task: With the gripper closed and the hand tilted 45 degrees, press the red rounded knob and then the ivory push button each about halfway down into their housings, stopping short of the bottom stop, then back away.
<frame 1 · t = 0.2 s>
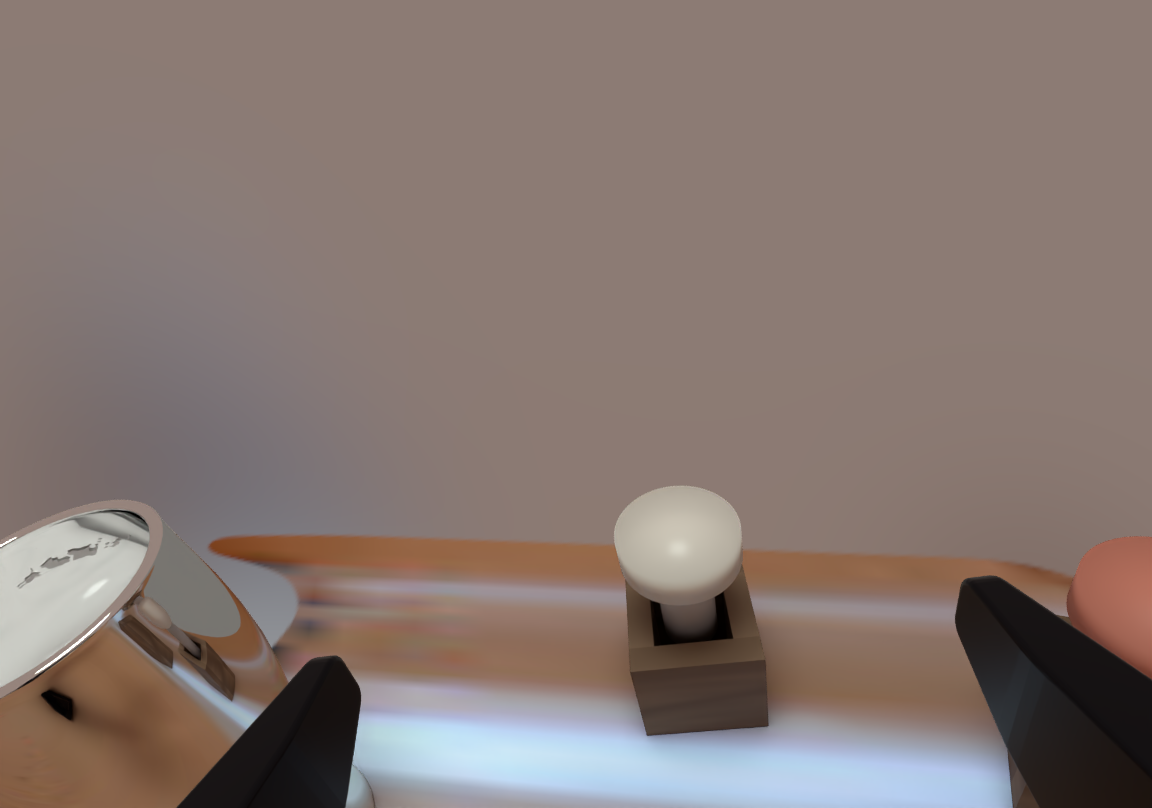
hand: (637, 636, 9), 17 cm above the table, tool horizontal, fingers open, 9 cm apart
red rounded knob: (1148, 658, 17), point 6 cm above the table, slide at 0.0 cm
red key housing: (1089, 764, 21), on the table
ivory key: (683, 579, 23), point 6 cm above the table, slide at 0.0 cm
ivory key housing: (698, 674, 26), on the table
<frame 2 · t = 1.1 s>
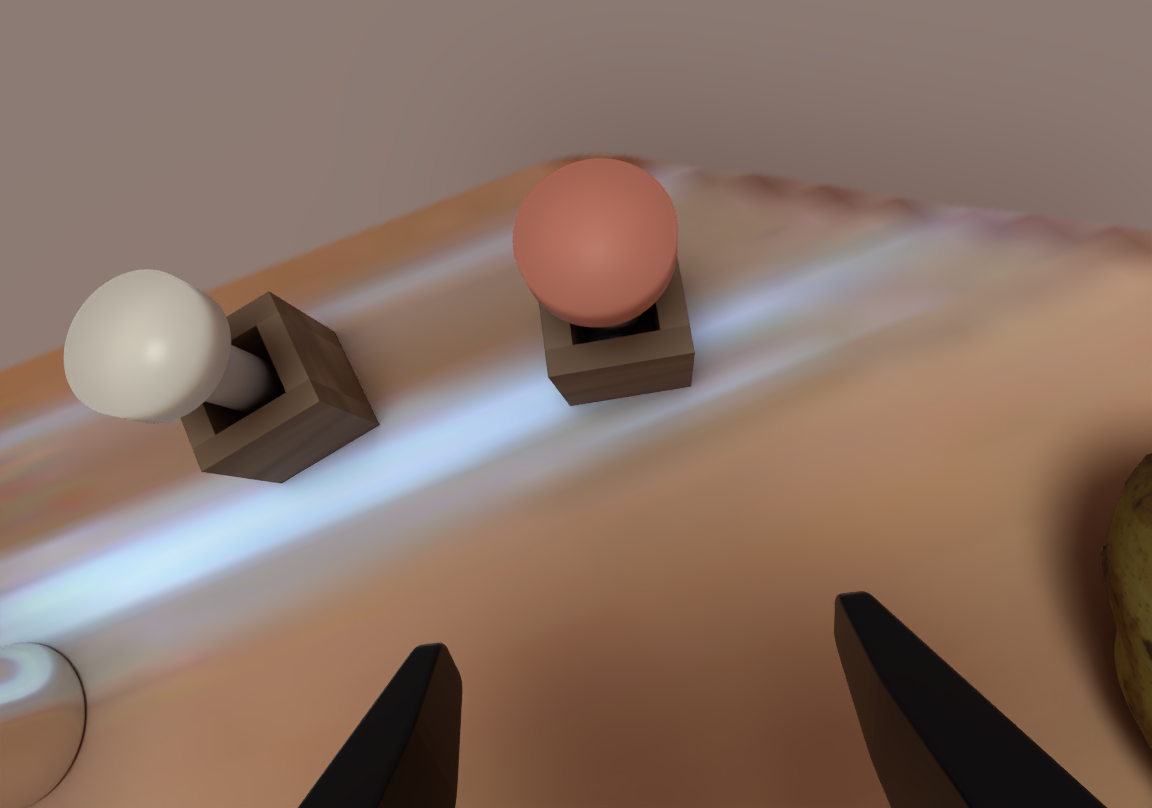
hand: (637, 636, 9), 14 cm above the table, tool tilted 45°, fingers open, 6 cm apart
red rounded knob: (604, 274, 19), point 6 cm above the table, slide at 0.0 cm
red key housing: (620, 338, 24), on the table
ivory key: (199, 366, 20), point 6 cm above the table, slide at 0.0 cm
ivory key housing: (308, 405, 26), on the table
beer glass: (23, 722, 25), on the table
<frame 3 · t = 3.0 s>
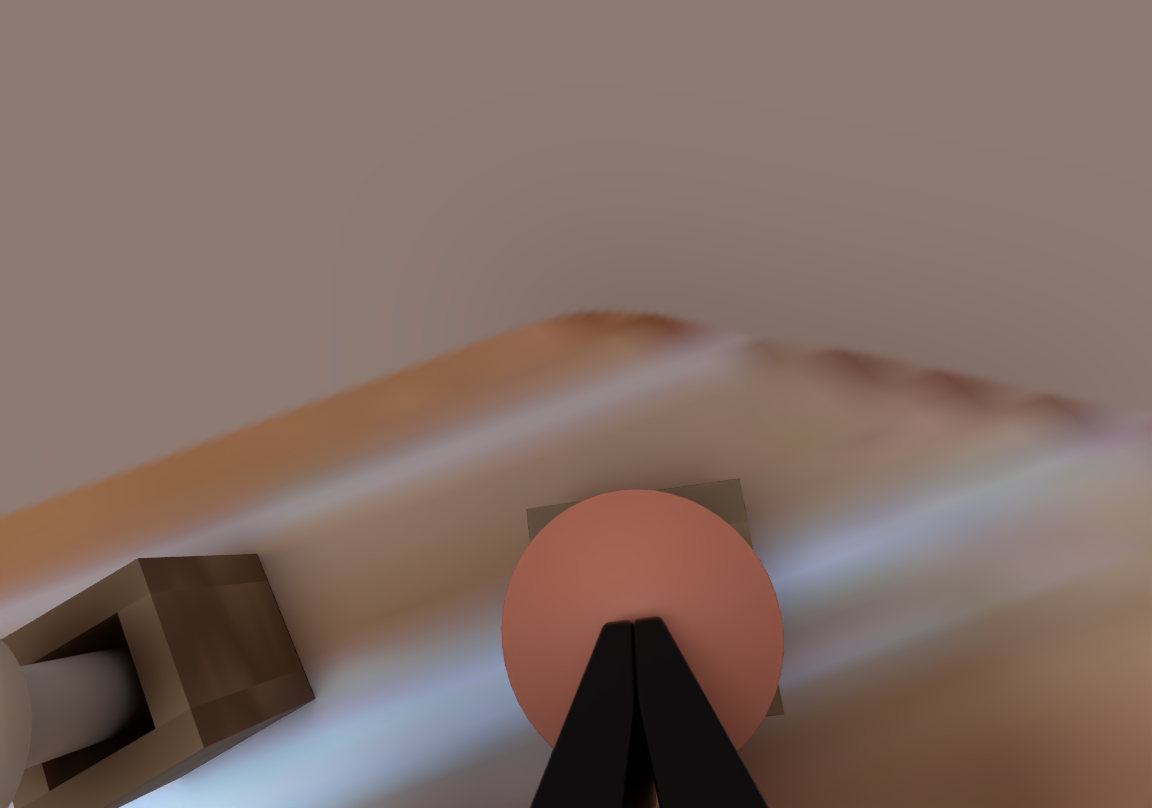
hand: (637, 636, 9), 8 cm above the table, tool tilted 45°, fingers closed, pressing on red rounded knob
red rounded knob: (645, 611, 12), point 5 cm above the table, slide at 0.6 cm, touching gripper
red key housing: (653, 589, 17), on the table
ivory key: (8, 720, 13), point 6 cm above the table, slide at 0.0 cm
ivory key housing: (218, 663, 19), on the table
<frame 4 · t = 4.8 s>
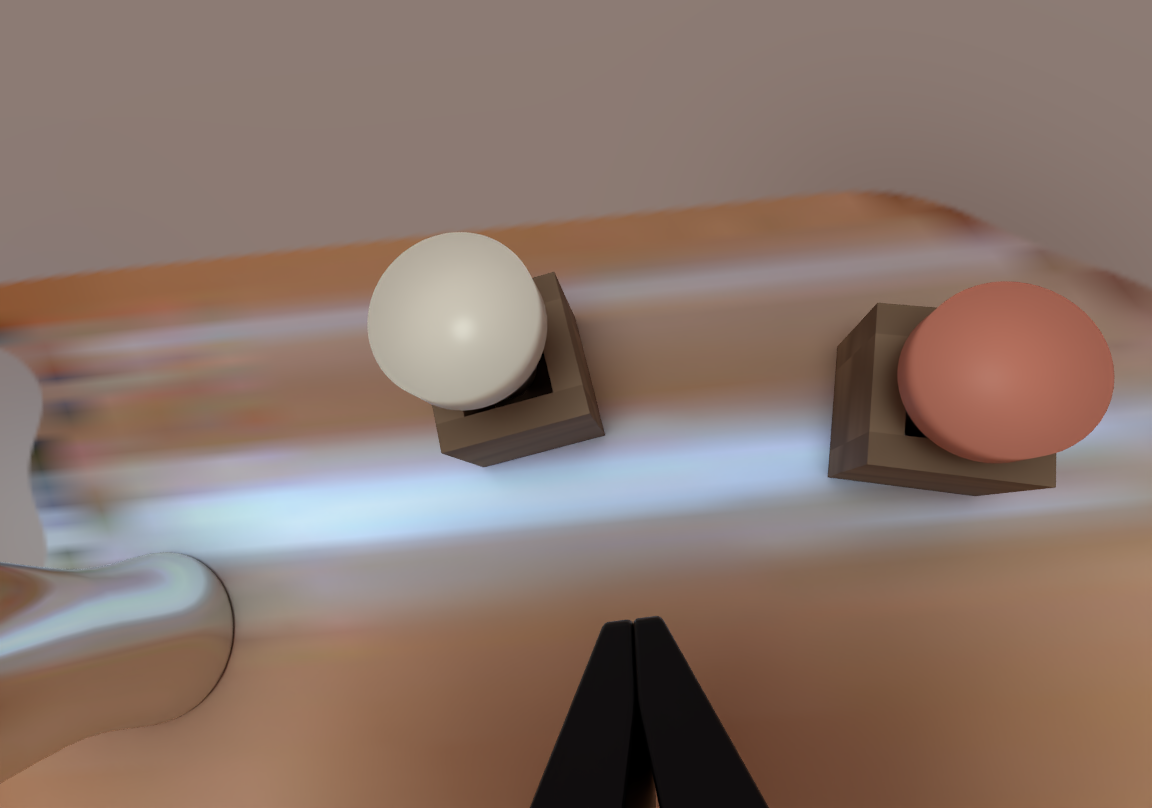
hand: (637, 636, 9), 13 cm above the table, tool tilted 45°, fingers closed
red rounded knob: (961, 391, 17), point 4 cm above the table, slide at 1.7 cm
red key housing: (904, 418, 21), on the table
ivory key: (482, 345, 18), point 6 cm above the table, slide at 0.0 cm
ivory key housing: (530, 391, 23), on the table
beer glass: (165, 634, 24), on the table
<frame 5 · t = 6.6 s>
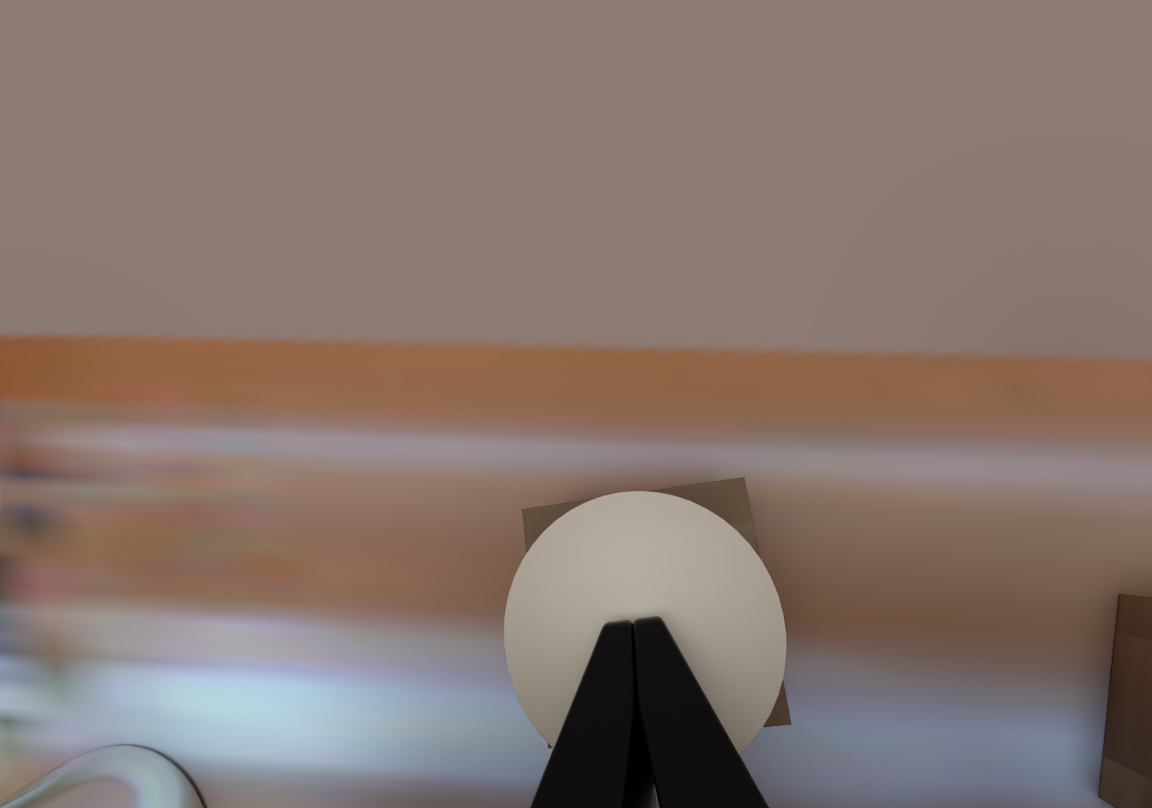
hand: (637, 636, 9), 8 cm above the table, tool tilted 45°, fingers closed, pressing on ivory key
ivory key: (647, 612, 12), point 5 cm above the table, slide at 1.2 cm, touching gripper
ivory key housing: (654, 592, 17), on the table
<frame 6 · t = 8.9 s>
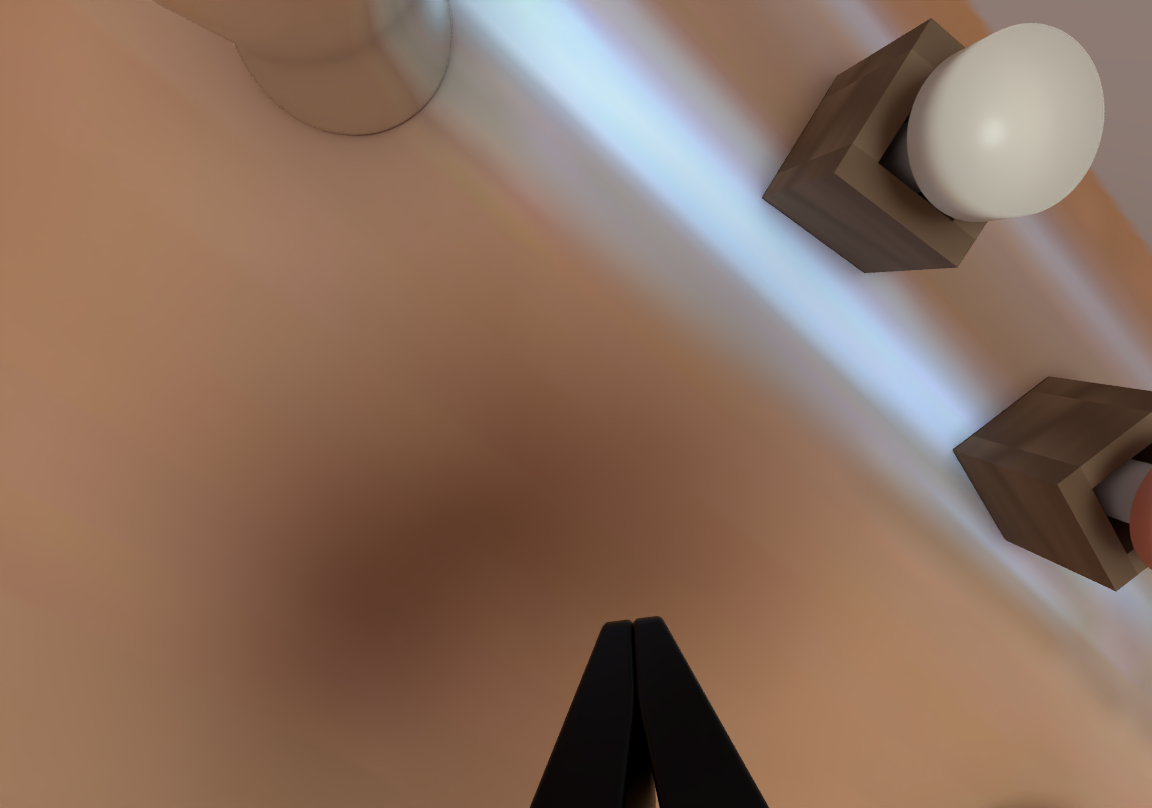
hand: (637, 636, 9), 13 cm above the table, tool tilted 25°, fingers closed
red rounded knob: (1143, 494, 20), point 4 cm above the table, slide at 1.7 cm
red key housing: (1027, 459, 24), on the table
ivory key: (943, 147, 17), point 4 cm above the table, slide at 1.7 cm
ivory key housing: (851, 177, 21), on the table
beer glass: (347, 28, 19), on the table
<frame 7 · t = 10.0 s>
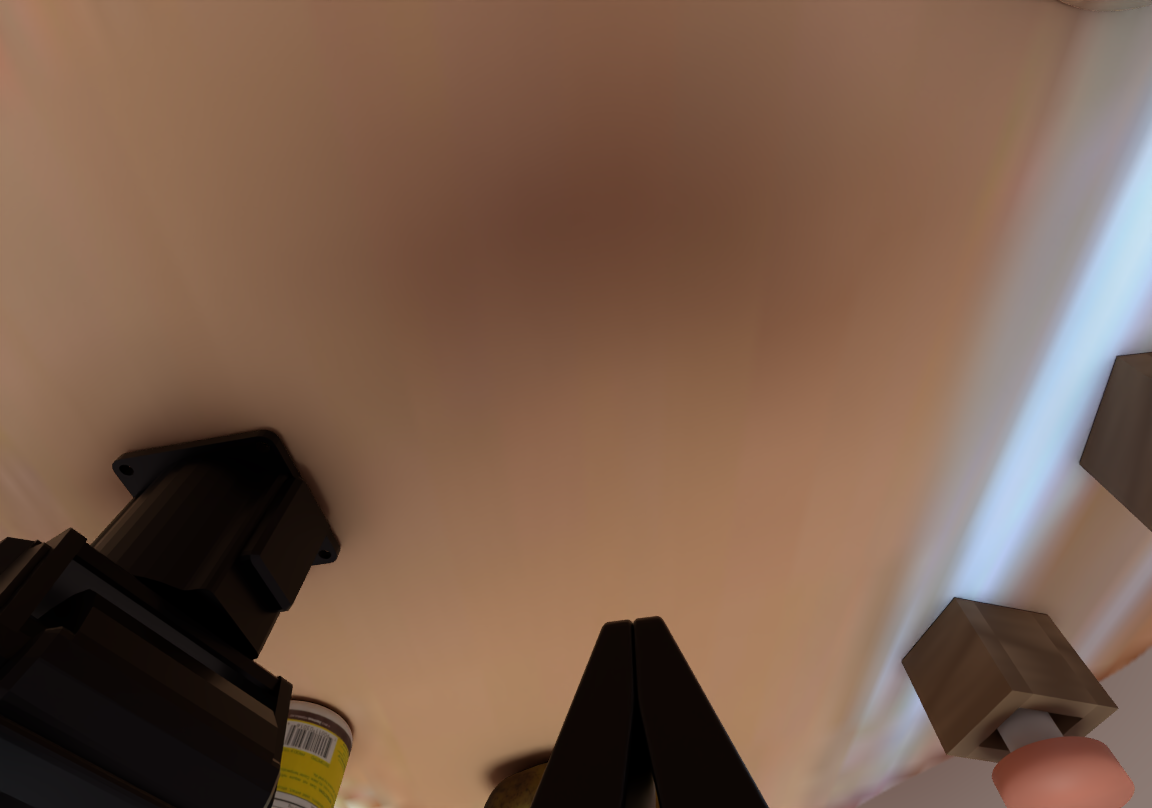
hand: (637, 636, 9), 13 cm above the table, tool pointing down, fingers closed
red rounded knob: (1028, 731, 25), point 4 cm above the table, slide at 1.7 cm
supplement bottle: (305, 721, 34), on the table
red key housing: (972, 639, 29), on the table
potato: (606, 774, 36), on the table
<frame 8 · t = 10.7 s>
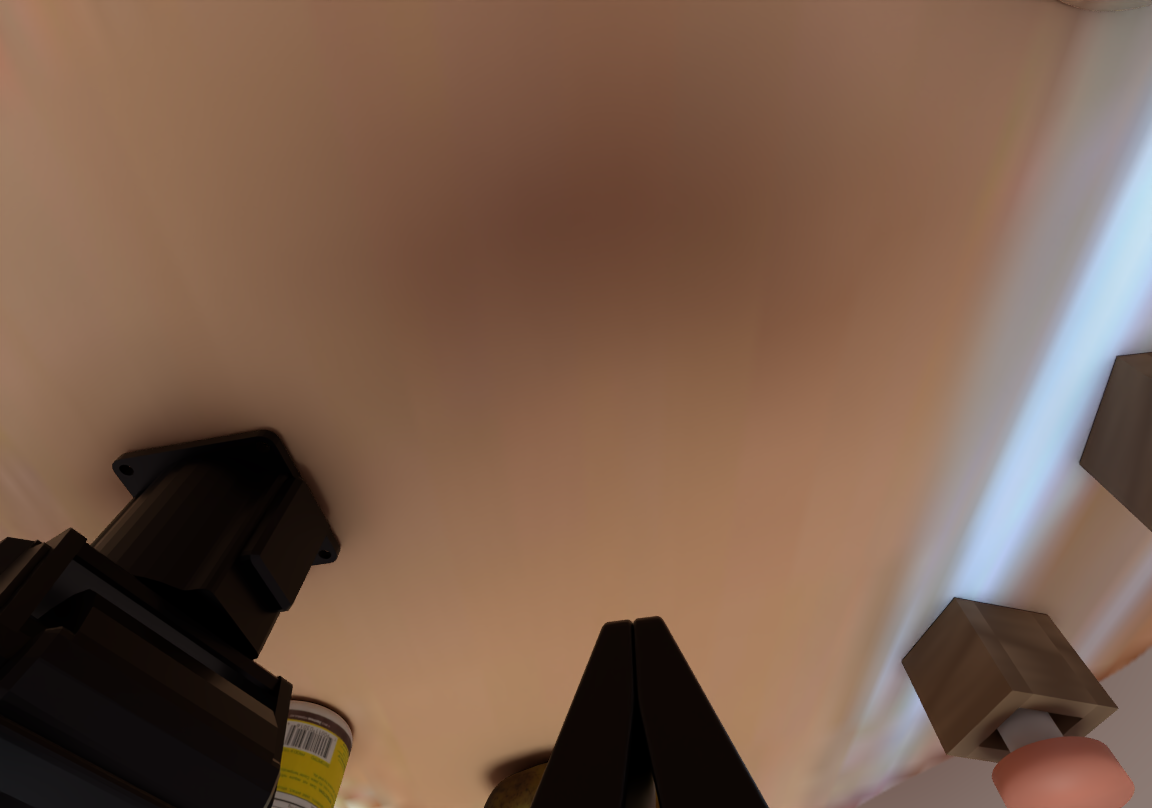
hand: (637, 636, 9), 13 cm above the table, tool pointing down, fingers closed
red rounded knob: (1028, 731, 25), point 4 cm above the table, slide at 1.7 cm
supplement bottle: (305, 721, 34), on the table
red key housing: (972, 639, 29), on the table
potato: (606, 774, 36), on the table
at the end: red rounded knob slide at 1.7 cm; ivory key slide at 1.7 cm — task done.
